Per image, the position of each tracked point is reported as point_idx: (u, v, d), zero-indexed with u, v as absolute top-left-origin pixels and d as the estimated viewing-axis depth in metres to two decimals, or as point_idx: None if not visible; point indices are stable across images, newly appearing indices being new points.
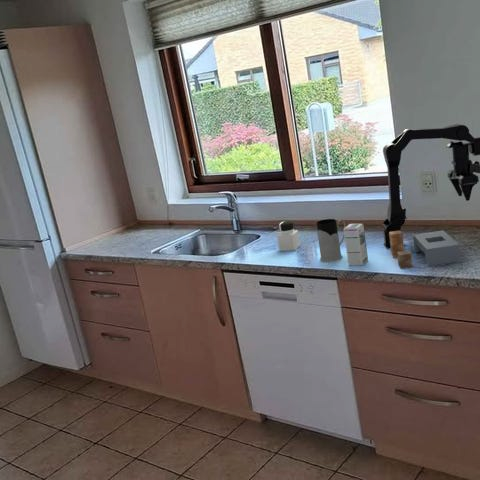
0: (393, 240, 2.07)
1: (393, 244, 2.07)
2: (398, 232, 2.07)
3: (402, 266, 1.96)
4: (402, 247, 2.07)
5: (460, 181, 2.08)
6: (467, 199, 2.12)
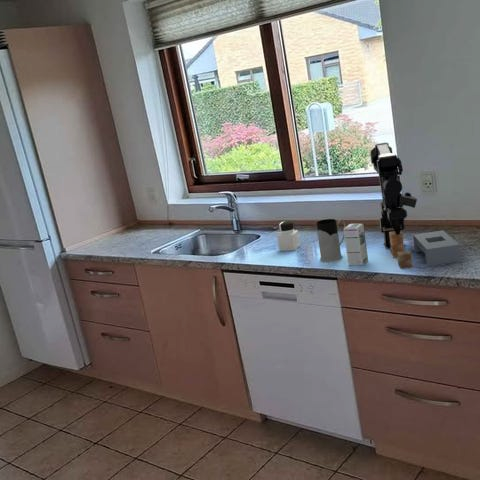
0: (393, 240, 2.07)
1: (393, 244, 2.07)
2: None
3: (402, 266, 1.96)
4: (402, 247, 2.07)
5: (388, 215, 1.99)
6: (397, 233, 2.03)
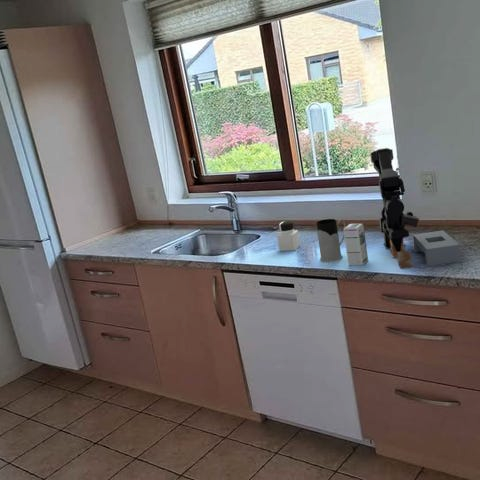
0: None
1: None
2: None
3: (402, 266, 1.96)
4: (402, 247, 2.07)
5: (390, 235, 2.00)
6: (398, 251, 2.07)
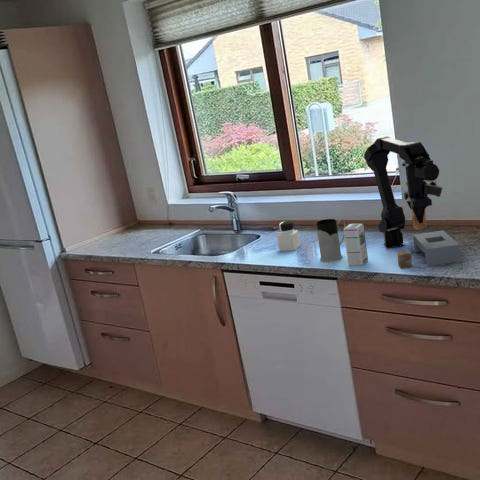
0: None
1: None
2: None
3: (402, 266, 1.96)
4: (424, 218, 1.99)
5: (412, 204, 1.93)
6: (420, 221, 1.99)
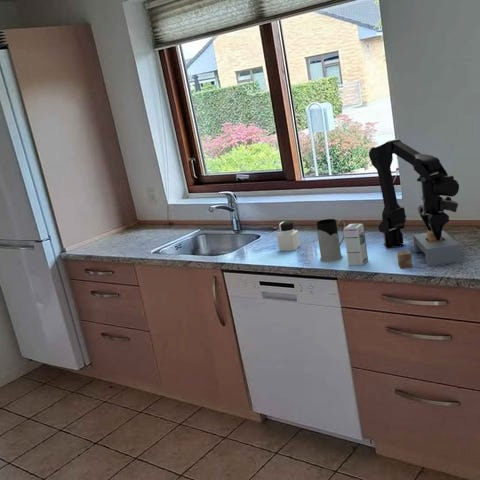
0: (432, 239, 2.00)
1: None
2: None
3: (402, 266, 1.96)
4: None
5: (429, 220, 1.92)
6: (437, 238, 1.96)
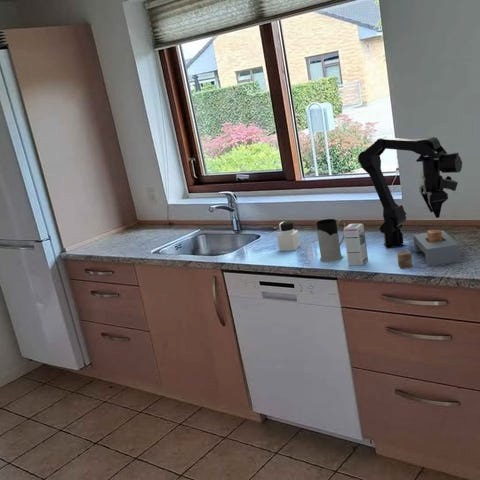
0: (432, 239, 2.00)
1: None
2: (437, 231, 2.00)
3: (402, 266, 1.96)
4: None
5: (429, 198, 1.99)
6: (437, 216, 2.03)
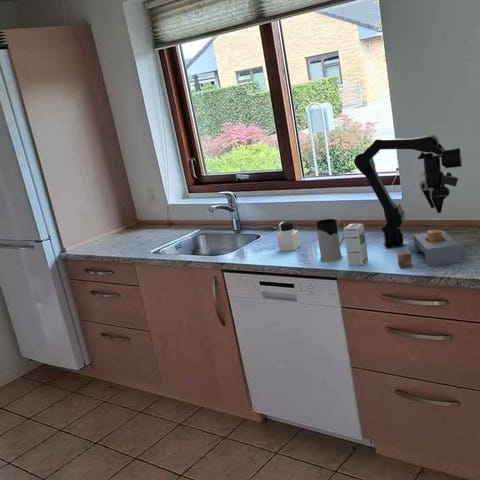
0: (432, 239, 2.00)
1: None
2: (437, 231, 2.00)
3: (402, 266, 1.96)
4: None
5: (431, 193, 2.04)
6: (438, 211, 2.08)
